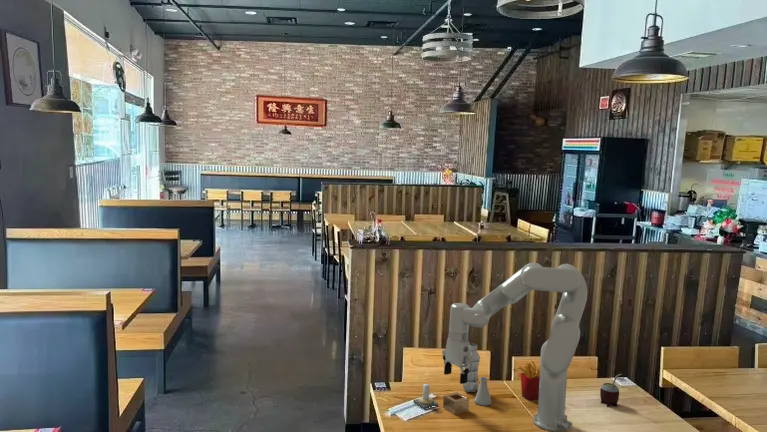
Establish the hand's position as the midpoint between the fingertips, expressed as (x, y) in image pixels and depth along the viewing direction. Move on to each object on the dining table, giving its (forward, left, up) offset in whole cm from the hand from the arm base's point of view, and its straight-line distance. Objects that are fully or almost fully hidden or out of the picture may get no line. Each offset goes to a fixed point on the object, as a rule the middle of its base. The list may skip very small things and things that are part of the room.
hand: (455, 378), depth 204 cm
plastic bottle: (+11, -17, -13) cm, 24 cm away
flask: (0, -14, -13) cm, 19 cm away
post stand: (+9, +8, -12) cm, 17 cm away
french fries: (-5, -34, -13) cm, 37 cm away
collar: (0, 0, -12) cm, 12 cm away
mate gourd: (-26, -59, -13) cm, 66 cm away
